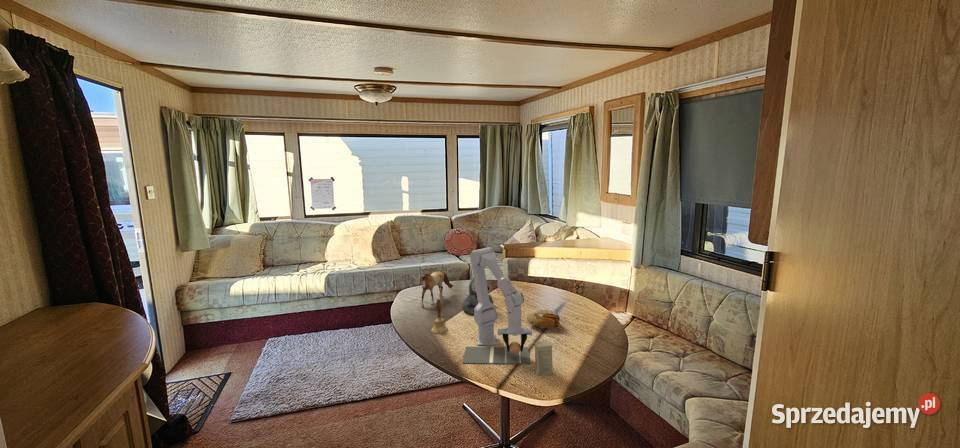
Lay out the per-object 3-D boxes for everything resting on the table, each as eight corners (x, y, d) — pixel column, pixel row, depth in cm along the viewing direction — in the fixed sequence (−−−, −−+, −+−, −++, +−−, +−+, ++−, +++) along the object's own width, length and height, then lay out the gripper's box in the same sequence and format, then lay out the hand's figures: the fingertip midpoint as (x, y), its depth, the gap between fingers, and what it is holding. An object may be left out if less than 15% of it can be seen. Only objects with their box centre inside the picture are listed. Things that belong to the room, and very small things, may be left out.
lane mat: (465, 347, 176) (465, 346, 176) (528, 347, 174) (528, 346, 174) (462, 363, 162) (462, 362, 162) (530, 364, 160) (530, 363, 160)
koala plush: (493, 316, 210) (493, 281, 207) (460, 316, 211) (459, 281, 207) (493, 304, 227) (492, 271, 224) (462, 304, 228) (461, 272, 224)
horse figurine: (425, 311, 219) (423, 276, 216) (414, 309, 223) (412, 274, 219) (454, 293, 246) (453, 262, 243) (444, 292, 250) (442, 261, 246)
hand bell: (429, 328, 197) (428, 298, 194) (445, 325, 200) (444, 295, 197) (433, 335, 189) (432, 303, 187) (450, 331, 192) (448, 301, 190)
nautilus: (574, 332, 189) (552, 342, 181) (543, 315, 206) (521, 324, 198) (574, 317, 187) (552, 327, 179) (543, 302, 204) (521, 310, 196)
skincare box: (550, 369, 156) (550, 340, 154) (552, 375, 152) (553, 345, 150) (534, 369, 156) (534, 341, 154) (536, 375, 151) (536, 346, 149)
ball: (509, 350, 169) (508, 339, 168) (520, 350, 168) (520, 339, 167) (509, 356, 164) (509, 345, 163) (521, 356, 163) (521, 345, 162)
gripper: (497, 324, 160) (497, 355, 162) (532, 324, 159) (532, 355, 161) (497, 317, 167) (498, 346, 169) (531, 317, 166) (531, 347, 168)
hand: (515, 350), depth 166 cm, fingers closed on ball, 5 cm apart
